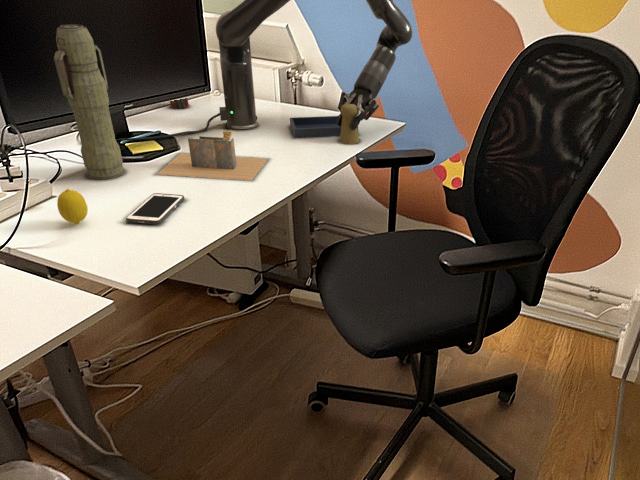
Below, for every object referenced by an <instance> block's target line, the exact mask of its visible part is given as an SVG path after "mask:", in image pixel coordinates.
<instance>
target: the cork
mask: <svg viewBox="0 0 640 480" xmlns="http://www.w3.org/2000/svg"><path fill="white" fill-rule="evenodd" d="M357 111H358V110H357V106H356V105H354V104H344V105H342V106H341V109H340V111H339V112H340V113H341V114H342V124H341V133H340V136H339V143H341V144H344V145H354V144H355V145H356V144H358V143H359V142H360V136H359V126H358V127H357V128H356V129H355V130H354V131H353V130H351V129H350V128H349V125H350V124H351V122H352V120H353V118H354V116H356V113H357Z"/></svg>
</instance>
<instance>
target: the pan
mask: <svg viewBox="0 0 640 480" xmlns="http://www.w3.org/2000/svg"><path fill="white" fill-rule="evenodd" d="M338 117H339V115H327V116H326V115H325V116H324V115H323V116H299V117H297V116H295V117H294V116H293V117H289V127H290V130H291V132H292V134H293V137H294V139H303V138H305V139H306V138H322V137H324V138H325V137H327V138H329V137H340V133H341V127H340V126H338V125H337V123H336V121H337V119H338Z"/></svg>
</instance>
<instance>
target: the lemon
mask: <svg viewBox="0 0 640 480" xmlns="http://www.w3.org/2000/svg"><path fill="white" fill-rule="evenodd" d="M56 201H57V203H56V204H57V205H56V206H57V210H58V213H59V215H60V216H61V217H62V219H64V221H67V222H69V223H73V224H75V225H79V224H80V223H81V222H82V221H84V220H85V218H86V217H87V216H88V211H89V210H88V204H87V201H86V199H85V197H84V196H83V195H82V194H81V192H79V191H77V190H74V189H70V188H66V189H65V190H63V191H62V192H61V193H60V194H59V195H58V197H57V200H56Z"/></svg>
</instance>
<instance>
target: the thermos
mask: <svg viewBox="0 0 640 480" xmlns="http://www.w3.org/2000/svg"><path fill="white" fill-rule="evenodd" d="M55 34H56V35H55V42H56V47H57V49H58V50H57V51H55V52H54V56H53V61H54V65H55V68H56V72H57V77H58V81H59V85H60V88H61V92H62V96H63V97H65V98H67V101H68V105H69V106H70V109H72V112H73V116H74V120H75V124H76V128H77V132H78V136H79V140H80V144H81V146H80V154H81V157H82V162H83V165H84V168H86V174H87V177H88V178H89V179H92V180H100V181H102V180H104V181H105V180H111V179H116V178H119V177H121V176H123V175H124V174H125V169H124V165H123V163H124V160H123V156H122V153H121V147H120V145H119V144H118V141H116V139H115V138H116V135H115V131H114V126H113V122H112V117H111V112H110V107H109V105H110V100H109V94H108V90H109V85H108V83H109V82H108V78H107V74H106V69H105V64H104V60H103V55H102V50H101V49H100V48H99V46H98V45H97V44H95V43H94V39H93V37H92V34H91V33H90V32H89V30H88V28H87V27H86V26H84V25H82V24H78V23H77V24H75V23H74V24H73V23H71V24H69V23H68V24H61V25H59V27H57V28H56V33H55Z"/></svg>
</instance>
